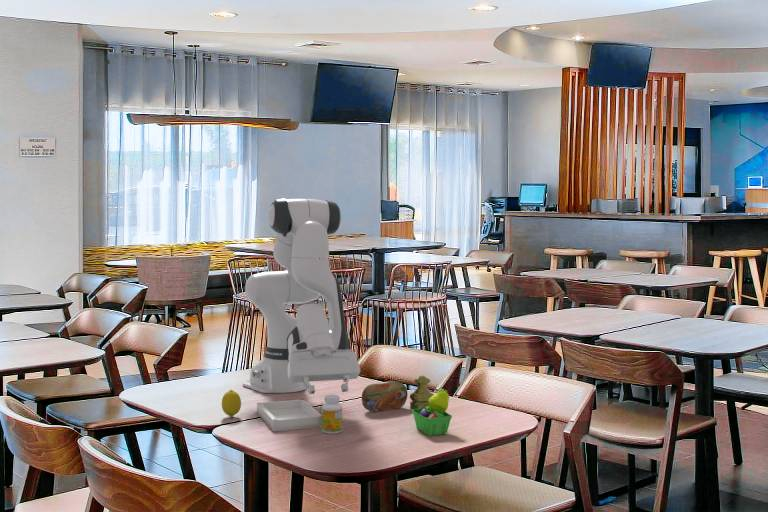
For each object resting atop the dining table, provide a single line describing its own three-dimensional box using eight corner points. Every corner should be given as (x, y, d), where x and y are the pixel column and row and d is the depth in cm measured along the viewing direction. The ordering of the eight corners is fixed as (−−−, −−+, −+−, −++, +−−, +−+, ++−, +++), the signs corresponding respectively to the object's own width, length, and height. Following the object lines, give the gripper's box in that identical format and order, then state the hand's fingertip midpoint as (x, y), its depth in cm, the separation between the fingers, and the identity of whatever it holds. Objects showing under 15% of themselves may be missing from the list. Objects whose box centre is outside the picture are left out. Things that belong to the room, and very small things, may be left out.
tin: (365, 414, 268) (365, 385, 268) (359, 412, 271) (359, 384, 270) (408, 407, 276) (408, 380, 276) (402, 405, 279) (402, 378, 278)
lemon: (233, 413, 269) (233, 386, 268) (245, 417, 265) (244, 389, 264) (217, 417, 265) (217, 389, 264) (229, 420, 261) (228, 392, 260)
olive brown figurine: (405, 407, 276) (405, 374, 275) (427, 405, 279) (428, 373, 278) (416, 413, 269) (416, 379, 269) (438, 410, 272) (439, 377, 271)
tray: (257, 412, 270) (257, 402, 269) (303, 409, 274) (303, 399, 274) (273, 431, 249) (273, 420, 249) (323, 426, 253) (323, 416, 253)
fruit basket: (410, 427, 253) (410, 387, 252) (439, 424, 256) (439, 384, 256) (426, 437, 243) (427, 395, 242) (457, 434, 246) (457, 392, 245)
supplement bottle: (317, 431, 249) (317, 396, 248) (332, 428, 252) (332, 393, 252) (331, 435, 245) (331, 399, 244) (346, 431, 249) (345, 396, 248)
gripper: (352, 355, 265) (362, 395, 256) (282, 359, 258) (290, 400, 249) (356, 342, 260) (367, 382, 252) (286, 345, 253) (294, 387, 245)
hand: (328, 391), depth 250 cm, fingers open, 8 cm apart
